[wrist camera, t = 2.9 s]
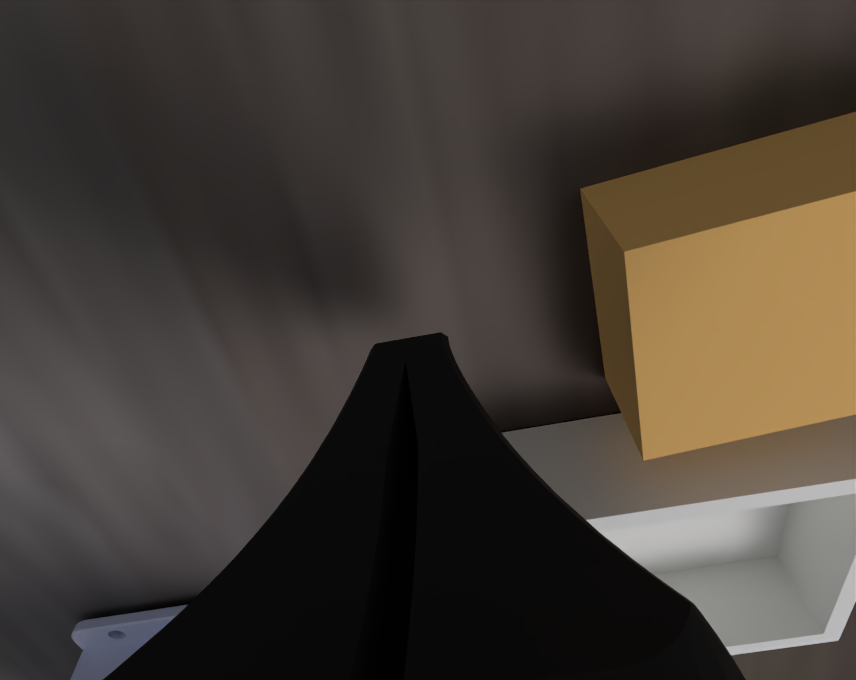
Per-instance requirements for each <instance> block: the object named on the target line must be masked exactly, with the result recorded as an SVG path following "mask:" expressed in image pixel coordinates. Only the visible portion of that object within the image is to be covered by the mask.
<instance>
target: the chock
mask: <svg viewBox="0 0 856 680" xmlns="http://www.w3.org/2000/svg"><path fill="white" fill-rule="evenodd" d="M580 192H581V199H582V207H583V214H584V222H585V229H586V237H587V244H588V252H589V260H590V267H591V275H592V282H593V290H594V297H595V305H596V312H597V320H598V327H599V335H600V342H601V350H602V358H603V365H604V373H605V378H606V381H607V383H608V385H609V387H610V389H611V391H612V394H613V396H614V398H615V400H616V402H617V404H618V407H619V409H620V411H621V413H622V415H623V417H624V420H625V422H626V424H627V426H628V428H629V430H630V433H631V435H632V437H633V439H634V441H635V443H636V446H637V448H638V450H639V452H640V454H641V456H642V459H643V461H644V460H649V459H654V458H658V457H663V456H667V455H672V454H677V453H681V452H686V451H690V450H695V449H699V448H704V447H709V446H713V445H718V444H722V443H727V442H732V441H736V440H741V439H745V438H750V437H755V436H759V435H764V434H768V433H773V432H777V431H782V430H787V429H791V428H796V427H800V426H805V425H810V424H814V423H819V422H823V421H828V420H833V419H837V418H842V417H846V416H851V415H855V414H856V112H853V113H849V114H846V115H842V116H838V117H835V118H831V119H828V120H824V121H820V122H817V123H813V124H810V125H806V126H803V127H799V128H795V129H792V130H788V131H785V132H781V133H778V134H774V135H770V136H767V137H763V138H760V139H756V140H752V141H749V142H745V143H742V144H738V145H735V146H731V147H727V148H724V149H720V150H717V151H713V152H709V153H706V154H702V155H699V156H695V157H692V158H688V159H684V160H681V161H677V162H674V163H670V164H666V165H663V166H659V167H656V168H652V169H649V170H645V171H641V172H638V173H634V174H631V175H627V176H623V177H620V178H616V179H613V180H609V181H606V182H602V183H598V184H595V185H591V186H588V187H584V188H580Z"/></svg>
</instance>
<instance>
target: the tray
mask: <svg viewBox="0 0 856 680" xmlns="http://www.w3.org/2000/svg"><path fill="white" fill-rule="evenodd" d="M502 434H503V435H504V437H505V438H506V439H507V440H508V441H509V443H510V444H511V445H512V446H513V447H514V449H515V450H516V451H517V452H518V453H519V455H520V456H521V457H522V458H523V459H524V460H525V461H526V462H527V463H528V464H529V466H530V467H531V468H532V469H533V470H534V471H535V472H536V473H537V474H538V475H539V476H540V477H541V478H542V479H543V480H544V481H545V482H546V483H547V484H548V485H549V486H550V487H551V488H552V490H553V491H554V492H555V493H557V494H558V495H559V496H560V497H561V498H562V499H563V500H564V501H565V502H566V503H568V504H569V505H570V506H571V507H572V508H573V509H574V510H575V511H576V512H578V513H579V514H580V515H581V516H582V517H583V518H584V519H585V520H586V521H588V522H589V523H590V524H591V525H592V526H593V527H594V528H595V529H596V530H598V531H599V532H600V533H601V534H602V535H603V536H605V537H606V538H607V539H608V540H610V541H611V542H612V543H613V544H615V545H616V546H617V547H618V548H620V549H621V550H622V551H623V552H625V553H626V554H627V555H628V556H630V557H631V558H632V559H633V560H635V561H636V562H637V563H639V564H640V565H641V566H643V567H644V568H645V569H647V570H648V571H649V572H651V573H652V574H653V575H655V576H656V577H658V578H659V579H660V580H662V581H663V582H664V583H666V584H667V585H669V586H670V587H672V588H673V589H674V590H676V591H677V592H679V593H680V594H681V595H683V596H684V597H686V598H687V599H689V600H690V601H691V602H693V603H694V604H695V605H696V607H697V608H698V609H699V611H700V612H701V613H702V615H703V616H704V617H705V619H706V620H707V621H708V623H709V624H710V626H711V627H712V628H713V630H714V631H715V632H716V634H717V635H718V637H719V638H720V640H721V641H722V643H723V644H724V646H725V647H726V649H727V650H728V652H729V653H730V655H736V654H743V653H751V652H758V651H765V650H773V649H780V648H787V647H795V646H802V645H809V644H817V643H824V642H832V641H839V638H840V636H841V634H842V631H843V629H844V627H845V625H846V622H847V620H848V618H849V616H850V613H851V611H852V609H853V606H854V604H855V602H856V414H855V415H851V416H846V417H842V418H837V419H833V420H828V421H823V422H819V423H814V424H810V425H805V426H800V427H796V428H791V429H787V430H782V431H777V432H773V433H768V434H764V435H759V436H755V437H750V438H745V439H741V440H736V441H732V442H727V443H722V444H718V445H713V446H709V447H704V448H699V449H695V450H690V451H686V452H681V453H677V454H672V455H667V456H663V457H658V458H654V459H649V460H644V461H643V459H642V456H641V454H640V452H639V450H638V448H637V446H636V443H635V441H634V439H633V437H632V435H631V433H630V430H629V428H628V426H627V424H626V422H625V420H624V417H623V415H622V413H619V414H613V415H606V416H600V417H594V418H588V419H582V420H576V421H570V422H564V423H558V424H551V425H545V426H539V427H533V428H527V429H521V430H515V431H509V432H503V433H502Z"/></svg>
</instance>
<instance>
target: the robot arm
mask: <svg viewBox="0 0 856 680" xmlns="http://www.w3.org/2000/svg"><path fill="white" fill-rule="evenodd" d="M71 637H72V639H73V641H74V642H75V643H76V644H77V645H78V646H79V647H80V648H81V649H82V650H83V651H82V653H81V656H80V658H79V660H78V663H77V665H76V667H75V670H74V672H73V674H72V677H71V679H70V680H746V679H745V678H744V676H743V674H742V673H741V671H740V669H739V668H738V666H737V664H736V663H735V661H734V659H733V658H732V656H731V655H730V653H729V652H728V650H727V649H726V647H725V646H724V644H723V643H722V641H721V640H720V638H719V637H718V635H717V634H716V632H715V631H714V630H713V628H712V627H711V626H710V624H709V623H708V621H707V620H706V619H705V617H704V616H703V615H702V613H701V612H700V611H699V609H698V608H697V607H696V605H695V604H694V603H693V602H691V601H690V600H689V599H687V598H686V597H684V596H683V595H681V594H680V593H679V592H677V591H676V590H674V589H673V588H672V587H670V586H669V585H667V584H666V583H664V582H663V581H662V580H660V579H659V578H658V577H656V576H655V575H653V574H652V573H651V572H649V571H648V570H647V569H645V568H644V567H643V566H641V565H640V564H639V563H637V562H636V561H635V560H633V559H632V558H631V557H630V556H628V555H627V554H626V553H625V552H623V551H622V550H621V549H620V548H618V547H617V546H616V545H615V544H613V543H612V542H611V541H610V540H608V539H607V538H606V537H605V536H603V535H602V534H601V533H600V532H599V531H598V530H596V529H595V528H594V527H593V526H592V525H591V524H590V523H589V522H588V521H586V520H585V519H584V518H583V517H582V516H581V515H580V514H579V513H578V512H576V511H575V510H574V509H573V508H572V507H571V506H570V505H569V504H568V503H566V502H565V501H564V500H563V499H562V498H561V497H560V496H559V495H558V494H557V493H555V492H554V491H553V490H552V488H551V487H550V486H549V485H548V484H547V483H546V482H545V481H544V480H543V479H542V478H541V477H540V476H539V475H538V474H537V473H536V472H535V471H534V470H533V469H532V468H531V467H530V466H529V464H528V463H527V462H526V461H525V460H524V459H523V458H522V457H521V456H520V455H519V453H518V452H517V451H516V450H515V449H514V447H513V446H512V445H511V444H510V443H509V441H508V440H507V439H506V438H505V437H504V435H503V434H502V433H501V431H500V430H499V429H498V427H497V426H496V425H495V423H494V422H493V421H492V420H491V418H490V417H489V415H488V414H487V413H486V411H485V410H484V408H483V407H482V405H481V404H480V402H479V401H478V399H477V398H476V396H475V395H474V393H473V391H472V390H471V388H470V387H469V385H468V383H467V382H466V380H465V378H464V377H463V375H462V373H461V371H460V369H459V367H458V365H457V363H456V361H455V359H454V356H453V354H452V351H451V349H450V345H449V340H448V337H447V336H446V335H444V334H443V333H441V332H440V333H434V334H429V335H423V336H417V337H411V338H406V339H400V340H394V341H389V342H383V343H377V344H375V345H374V346H373V348H372V349H371V351H370V353H369V355H368V358H367V360H366V362H365V364H364V367H363V369H362V371H361V373H360V375H359V377H358V379H357V381H356V383H355V386H354V388H353V390H352V392H351V394H350V395H349V397H348V399H347V401H346V403H345V405H344V407H343V408H342V410H341V412H340V414H339V416H338V418H337V419H336V421H335V423H334V425H333V427H332V428H331V430H330V432H329V433H328V435H327V436H326V438H325V440H324V441H323V443H322V444H321V446H320V448H319V449H318V451H317V452H316V454H315V456H314V457H313V459H312V460H311V462H310V464H309V465H308V467H307V468H306V469H305V471H304V472H303V474H302V475H301V477H300V478H299V480H298V481H297V482H296V484H295V485H294V486H293V488H292V489H291V491H290V492H289V493H288V495H287V496H286V497H285V498H284V500H283V501H282V502H281V504H280V505H279V506H278V508H277V509H276V510H275V511H274V513H273V514H272V515H271V516H270V517H269V519H268V520H267V521H266V522H265V523H264V525H263V526H262V527H261V528H260V529H259V531H258V532H257V533H256V534H255V535H254V537H253V538H252V539H251V540H250V541H249V542H248V543H247V545H246V546H245V547H244V548H243V549H242V550H241V551H240V552H239V554H238V555H237V556H236V557H235V558H234V559H233V560H232V561H231V562H230V563H229V564H228V566H227V567H226V568H225V569H224V570H223V571H222V572H221V573H220V574H219V575H218V576H217V577H216V578H215V579H214V580H213V581H212V582H211V583H210V584H209V585H208V586H207V587H206V588H205V589H204V590H203V591H202V592H201V593H200V594H199V595H198V596H197V597H196V598H194V599H193V600H192V601H191V602H190V603H189V604H188V605H181V606H175V607H168V608H161V609H155V610H148V611H141V612H135V613H128V614H121V615H115V616H108V617H101V618H95V619H88V620H83V621H80V622H78V623H77V624H76V625H75V628H74V630H73V632H72V635H71Z"/></svg>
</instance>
